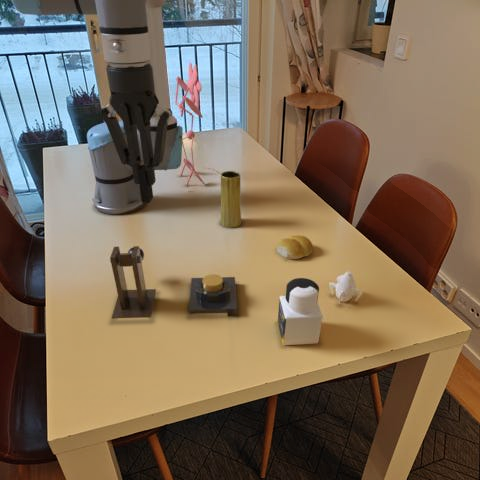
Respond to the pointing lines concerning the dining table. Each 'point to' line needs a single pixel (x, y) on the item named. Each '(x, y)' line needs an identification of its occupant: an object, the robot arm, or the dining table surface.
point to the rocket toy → (345, 287)
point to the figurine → (194, 90)
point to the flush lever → (128, 258)
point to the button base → (213, 298)
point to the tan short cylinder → (212, 283)
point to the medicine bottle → (300, 313)
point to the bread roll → (295, 247)
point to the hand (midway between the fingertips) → (147, 199)
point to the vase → (230, 199)
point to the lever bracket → (131, 300)
